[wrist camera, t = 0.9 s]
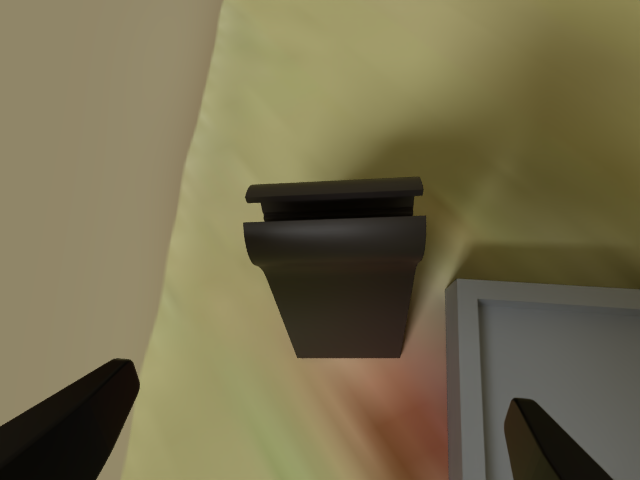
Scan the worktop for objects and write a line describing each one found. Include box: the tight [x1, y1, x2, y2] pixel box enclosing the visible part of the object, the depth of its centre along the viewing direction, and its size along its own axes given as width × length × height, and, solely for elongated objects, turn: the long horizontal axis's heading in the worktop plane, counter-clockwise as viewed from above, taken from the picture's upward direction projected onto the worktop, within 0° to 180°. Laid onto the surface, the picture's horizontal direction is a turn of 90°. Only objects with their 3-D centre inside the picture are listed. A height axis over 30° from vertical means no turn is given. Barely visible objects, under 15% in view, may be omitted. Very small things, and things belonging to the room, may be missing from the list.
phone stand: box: [243, 177, 426, 358], centre depth 18 cm, size 9×6×12 cm, turn 0°
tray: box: [445, 279, 640, 480], centre depth 18 cm, size 16×16×3 cm
